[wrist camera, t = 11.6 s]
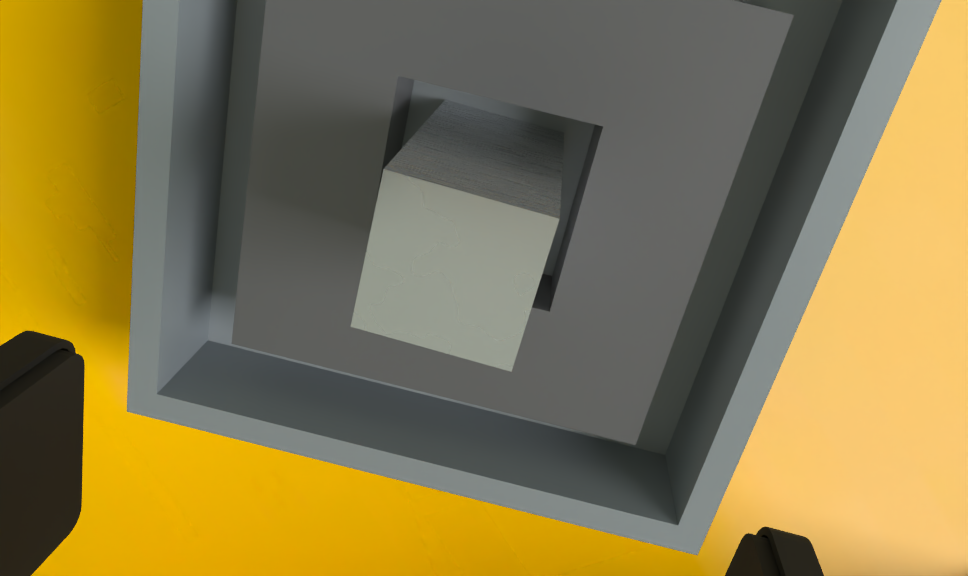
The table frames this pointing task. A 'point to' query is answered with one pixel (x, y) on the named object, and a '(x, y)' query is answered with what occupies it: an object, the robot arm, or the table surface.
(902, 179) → the table surface
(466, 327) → the peg
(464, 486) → the box
